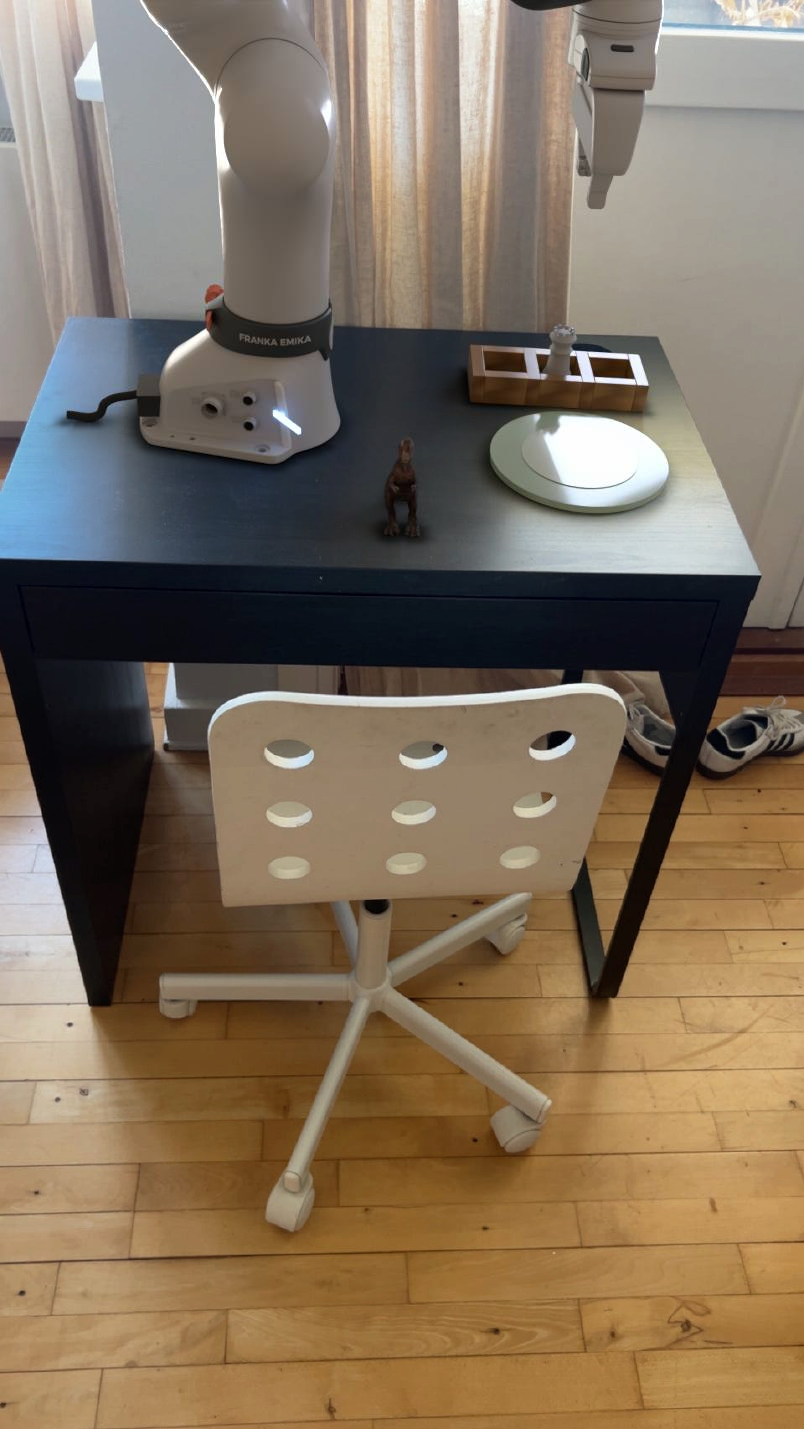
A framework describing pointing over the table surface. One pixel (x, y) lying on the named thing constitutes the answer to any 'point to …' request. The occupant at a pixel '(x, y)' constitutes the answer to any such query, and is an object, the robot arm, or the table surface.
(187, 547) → the table surface
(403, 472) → the dinosaur model
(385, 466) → the table surface
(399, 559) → the table surface
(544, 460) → the plate
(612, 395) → the rack
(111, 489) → the table surface
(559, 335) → the rook chess piece
